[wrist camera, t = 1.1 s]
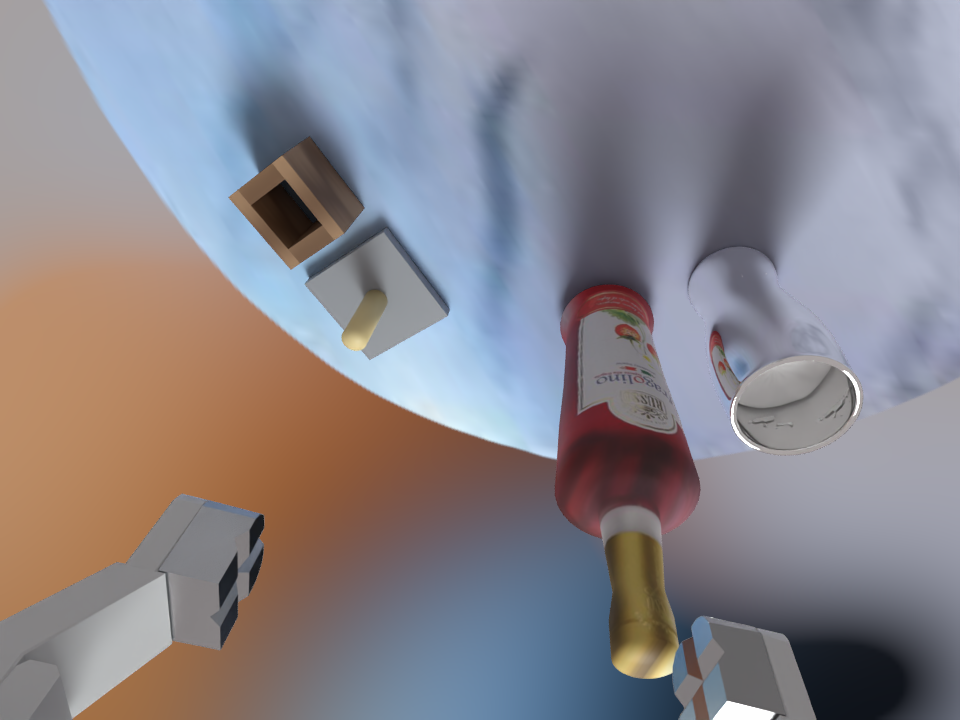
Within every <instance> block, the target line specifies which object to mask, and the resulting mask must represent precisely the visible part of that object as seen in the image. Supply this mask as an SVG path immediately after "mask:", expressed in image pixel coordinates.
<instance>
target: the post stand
mask: <svg viewBox="0 0 960 720" xmlns="http://www.w3.org/2000/svg"><path fill="white" fill-rule="evenodd" d="M305 286H306V287H307V288H308V289H309V290H310V291H311V292H312V294H313V295H314V296H315V297H316V298H317V299H318V301H319V302H320V303H321V304H322V305H323V306H324V308H325V309H326V310H327V311H328V312H329V313H330V315H331V316H332V317H333V318H334V319H335V320H336V322H337V323H338V324H339V325H340V326H341V327H342V328H343V330H344V332H343V334H342V342H343V344H344V345H345V346H346V347H347V348H349V349H351V350H354V351H359V350H361V351H362V352H363V353H364V354H365V355H366V356H367V358H368V359H369V360H371V359H372V358H374V357H376V356H378V355H379V354H381V353H383V352H385V351H387V350H388V349H390V348H392V347H394V346H395V345H397V344H399V343H401V342H403V341H404V340H406V339H408V338H410V337H411V336H413V335H415V334H417V333H418V332H420V331H422V330H424V329H426V328H427V327H429V326H431V325H433V324H434V323H436V322H438V321H440V320H441V319H443V318H445V317H447V316H448V314H449V311H450V310H449V308H448V307H447V306H446V304H445V303H444V302H443V300H442V299H441V298H440V297H439V295H438V294H437V293H436V291H435V290H434V289H433V287H432V286H431V285H430V283H429V282H428V281H427V279H426V278H425V277H424V275H423V274H422V273H421V272H420V270H419V269H418V268H417V266H416V265H415V264H414V262H413V261H412V260H411V258H410V257H409V256H408V254H407V253H406V252H405V250H404V249H403V248H402V247H401V245H400V244H399V243H398V241H397V240H396V239H395V237H394V236H393V235H392V233H391V232H390V231H389V229H388V228H387V227H386V228H385V229H383V230H382V231H380V232H379V233H377V234H376V235H374V236H373V237H371V238H370V239H368V240H367V241H365V242H364V243H362V244H361V245H359V246H358V247H356V248H355V249H353V250H352V251H350V252H348V253H347V254H345V255H344V256H342V257H341V258H339V259H338V260H336V261H335V262H333V263H332V264H330V265H329V266H327V267H326V268H324V269H323V270H321V271H320V272H318V273H317V274H315V275H314V276H312V277H311V278H309V279H308V280H307V282H306V283H305Z"/></svg>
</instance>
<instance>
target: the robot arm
mask: <svg viewBox="0 0 960 720" xmlns="http://www.w3.org/2000/svg"><path fill="white" fill-rule="evenodd" d="M263 529H264V515H262V514H259V513H255V512H252V511H247V510H244V509H240V508H236V507H232V506H228V505H225V504H221V503H217V502H213V501H209V500H205V499H201V498H196V497H193V496H189V495H185V494H181V495H180V496H178V497H177V498H176V499H174V500H173V501H172V502H171V504H170V505H169V507H168V508H167V509H166V511H165V512H164V514H163V515H162V516H161V517H160V518H159V520H158V521H157V522H156V524H155V525H154V526H153V528H152V529H151V530H150V532H149V533H148V534H147V536H146V537H145V538H144V540H143V541H142V542H141V544H140V545H139V546H138V548H137V549H136V550H135V552H134V553H133V554H132V556H131V557H130V558H129V560H128V561H127V562H126V564H123V563H118V562H116V563H114V564H112V565H110V566H109V567H107V568H105V569H103V570H101V571H99V572H97V573H95V574H93V575H91V576H89V577H87V578H85V579H83V580H81V581H79V582H77V583H76V584H73V585H71V586H70V587H68V588H65V589H63V590H61V591H60V592H58V593H56V594H54V595H52V596H50V597H48V598H46V599H44V600H42V601H40V602H38V603H36V604H34V605H32V606H30V607H28V608H26V609H24V610H22V611H20V612H19V613H17V614H14V615H13V616H11V617H9V618H7V619H5V620H3V621H1V622H0V720H72V718H74V717H75V716H76V715H78V714H79V713H80V712H82V711H83V710H84V709H85V708H87V707H88V706H90V705H91V704H92V703H94V702H95V701H96V700H98V699H99V698H100V697H102V696H103V695H104V694H105V693H107V692H108V691H109V690H111V689H112V688H114V687H115V686H116V685H117V684H119V683H120V682H122V681H123V680H124V679H126V678H127V677H128V676H130V675H131V674H132V673H134V672H135V671H136V670H137V669H139V668H140V667H142V666H143V665H144V664H145V663H147V662H148V661H150V660H151V659H152V658H153V657H155V656H156V655H158V654H159V653H160V652H162V651H163V650H164V649H166V648H167V647H168V646H169V645H171V644H172V641H177V642H182V643H187V644H192V645H198V646H202V647H207V648H212V649H217V650H221V648H222V646H223V645H224V643H225V641H226V639H227V637H228V635H229V633H230V631H231V629H232V627H233V625H234V623H235V621H236V619H237V617H238V602H239V601H241V600H242V599H244V598H245V597H247V596H249V594H250V592H251V590H252V588H253V586H254V584H255V581H256V579H257V576H258V573H259V570H260V567H261V563H262V559H263V551H264V544H263V543H262V541H261V540H260V539H259V537H260V535H261V533H262V531H263ZM691 629H692V634H693V637H691V638H689V639H687V640H684V641H683V642H681V644H680V646H679V648H678V649H677V651H676V653H675V658H674V663H673V686H674V693H675V695H676V696H677V698H678V699H679V700H680V702H681V703H682V705H683V706H684V708H685V709H684V710H683V712H682V714H681V715H680V717H679V720H816V717H815V714H814V712H813V709H812V706H811V703H810V700H809V697H808V694H807V692H806V689H805V686H804V683H803V680H802V678H801V674H800V672H799V669H798V666H797V663H796V660H795V658H794V655H793V652H792V649H791V646H790V643H789V641H788V639H787V638H786V637H785V636H784V634H779V633H776V632H771V631H767V630H763V629H758V628H754V627H752V626H747V625H742V624H738V623H733V622H729V621H724V620H720V619H715V618H711V617H706V616H701V617H699V618H697V619H696V621H695V622H694V623H693V625H692V627H691Z"/></svg>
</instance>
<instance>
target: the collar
mask: <svg viewBox="0 0 960 720" xmlns="http://www.w3.org/2000/svg"><path fill="white" fill-rule="evenodd" d="M283 180H286V181H287V182H288V183H289V185H290V186H291V187H292V188H293V190H294V191H295V192H296V193H297V195H298V196H299V197H300V198H301V200H302V201H303V202H304V203H305V205H306V206H307V207H308V208H309V209H310V211H311V212H312V213H313V214H314V216H315V217H316V218H317V219H318V220H317V221H316V222H314V223H312V222H311V220H310V219H309V218H308V217H307V216H306V214H305V213H304V212H303V211H302V209H301V208H300V207H299V206H298V204H297V203H296V202H295V201H294V200H293V198H292V197H291V196H290V195H289V193H288V192H287V191H286V190H285V189H284V187H283V186H282V185H281V184H280V183H281V182H282V181H283ZM228 198H229V199H230V200H231V201H232V202H233V203H234V204H235V206H236V207H237V208H238V209H239V210H240V211H241V213H242V214H243V215H244V216H245V217H246V218H247V220H248V221H249V222H250V223H251V224H252V225H253V227H254V228H255V229H256V230H257V231H258V232H259V233H260V235H261V236H262V237H263V238H264V239H265V240H266V242H267V243H268V244H269V245H270V246H271V247H272V249H273V250H274V251H275V252H276V253H277V254H278V255H279V257H280V258H281V259H282V260H283V261H284V262H285V264H286V265H287V266H288V267H289V268H290V269H293V268H294V267H296V266H297V265H299V264H300V263H301V262H303V261H304V260H306V259H307V258H309V257H310V256H312V255H313V254H315V253H316V252H318V251H319V250H321V249H322V248H323V247H325V246H326V245H328V244H329V243H331V242H332V241H334V240H335V239H337V238H338V237H340V236H341V235H343V234H344V233H345V232H346V231H347V229H348V228H349V227H350V226H351V224H352V223H353V222H354V221H355V219H356V218H357V217H358V216H359V214H360V213H361V212H362V211H363V209H364V207H363V206H362V204H361V203H360V202H359V200H358V199H357V198H356V196H355V195H354V194H353V193H352V191H351V190H350V189H349V187H348V186H347V185H346V183H345V182H344V181H343V180H342V178H341V177H340V176H339V174H338V173H337V172H336V170H335V169H334V168H333V166H332V165H331V164H330V163H329V161H328V160H327V159H326V157H325V156H324V155H323V153H322V152H321V151H320V149H319V148H318V147H317V146H316V144H315V143H314V142H313V140H312V139H311V138H310V136H309V137H308V138H306V139H305V140H303V141H302V142H301V143H299V144H298V145H296V146H295V147H293V148H292V149H290V150H289V151H287V152H286V153H285V154H283V155H282V156H280V157H279V158H278V159H277V160H275V161H274V162H273V163H272V164H270V165H269V166H268V167H266V168H265V169H264V170H263V171H261V172H260V173H259V174H258V175H256V176H255V177H254V178H252V179H251V180H250V181H249V182H247V183H246V184H245V185H244V186H242V187H241V188H240V189H238V190H237V191H236V192H235V193H233V194H232V195H231V196H230V197H228Z"/></svg>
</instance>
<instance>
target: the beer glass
mask: <svg viewBox="0 0 960 720" xmlns="http://www.w3.org/2000/svg"><path fill="white" fill-rule="evenodd" d="M688 295H689V300H690V303H691V305H692V307H693V308H694V310H695V311H696V312H697V314H698V315H699V316H700V317H701V318H702V319H703V320H704V323H705V350H706V359H707V366H708V370H709V374H710V377H711V381H712V384H713V387H714V389H715V391H716V394H717V396H718V399H719V401H720V403H721V405H722V407H723V409H724V411H725V413H726V415H727V416H728V418H729V420H730V422H731V425H732V428H733V430H734V432H735V433H736V435H737V436H738V437H739V438H740V439H741V440H742V441H743V442H744V443H745V444H747V445H748V446H750V447H751V448H753V449H755V450H758V451H761V452H764V453H767V454H773V455H785V456H786V455H799V454H804V453H808V452H812V451H815V450H818V449H820V448H823V447H825V446H827V445H829V444H831V443H832V442H834V441H836V440H837V439H838V438H840V437H841V436H842V435H843V434H845V433H846V432H847V431H848V430H849V429H850V428H851V426H852V425H853V424H854V422H855V421H856V419H857V418H858V416H859V414H860V411H861V408H862V404H863V390H862V386H861V383H860V381H859V379H858V378H857V376H856V375H855V373H854V372H853V370H852V368H851V366H850V364H849V362H848V360H847V358H846V356H845V354H844V353H843V351H842V349H841V347H840V346H839V344H838V343H837V341H836V339H835V338H834V336H833V335H832V333H831V332H830V331H829V330H828V328H827V327H826V326H825V325H824V323H823V322H822V321H821V320H820V319H819V318H818V317H817V316H816V315H815V314H814V313H813V312H812V311H811V310H810V309H809V308H807V307H806V306H805V305H804V304H802V303H801V302H800V301H799V300H797V299H796V298H795V297H793V296H792V295H790V294H789V293H788V292H786V291H785V290H784V289H782V288H781V287H780V285H779V281H778V276H777V273H776V269H775V267H774V265H773V264H772V262H771V261H770V259H769V258H768V257H767V256H766V255H764V254H763V253H761V252H760V251H758V250H755V249H752V248H749V247H741V246H736V247H728V248H724V249H721V250H719V251H716V252H714V253H712V254H711V255H709V256H708V257H706V258H705V259H704V260H703V261H702V262H700V264H699V265H698V266H697V267H696V268H695V270H694V272H693V273H692V275H691V278H690V281H689V286H688Z"/></svg>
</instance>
